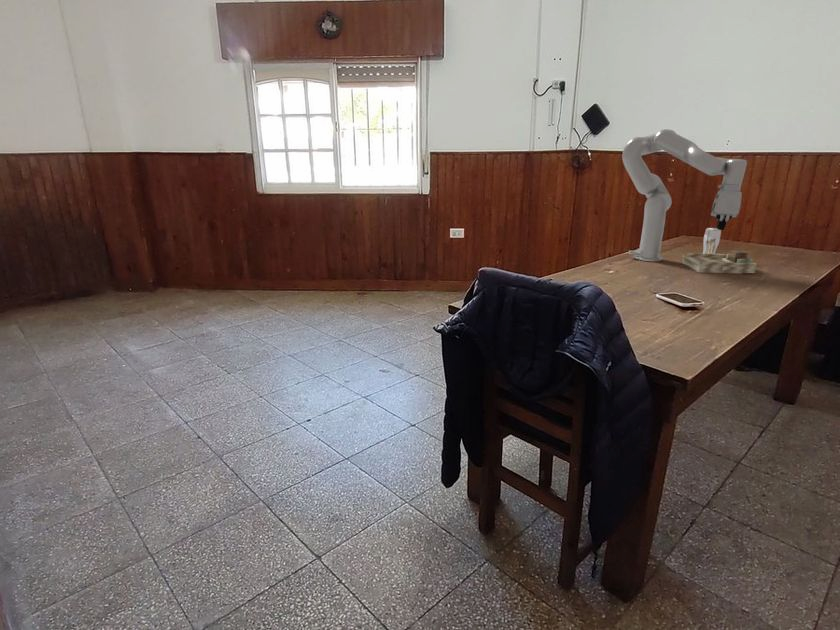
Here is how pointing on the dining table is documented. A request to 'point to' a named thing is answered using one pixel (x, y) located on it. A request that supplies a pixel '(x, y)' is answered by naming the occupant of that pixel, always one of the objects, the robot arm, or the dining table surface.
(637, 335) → the dining table surface
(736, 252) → the walnut block
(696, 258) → the tray
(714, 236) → the beer glass
